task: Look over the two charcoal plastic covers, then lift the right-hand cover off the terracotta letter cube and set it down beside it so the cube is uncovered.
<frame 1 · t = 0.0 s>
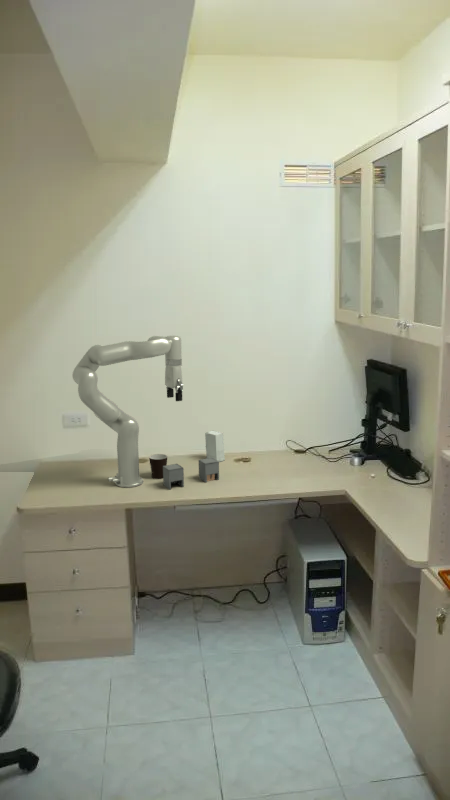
hand: (174, 399, 271), 37 cm above the table, tool pointing down, fingers open, 9 cm apart
cover right: (209, 479, 271), on the table
coffee mug: (159, 476, 276), on the table
skincare box: (215, 460, 299), on the table
cover left: (173, 485, 263), on the table
letter cube: (209, 475, 271), in the cover right
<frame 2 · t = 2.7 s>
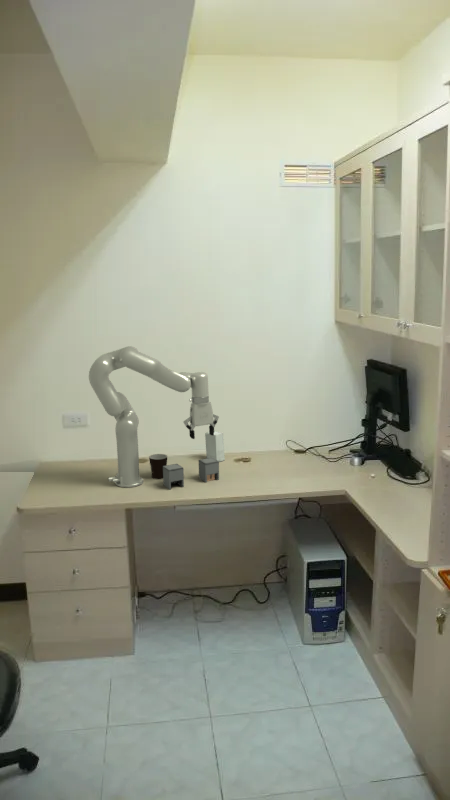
hand: (202, 436, 265), 21 cm above the table, tool pointing down, fingers open, 9 cm apart
nothing on the table moved.
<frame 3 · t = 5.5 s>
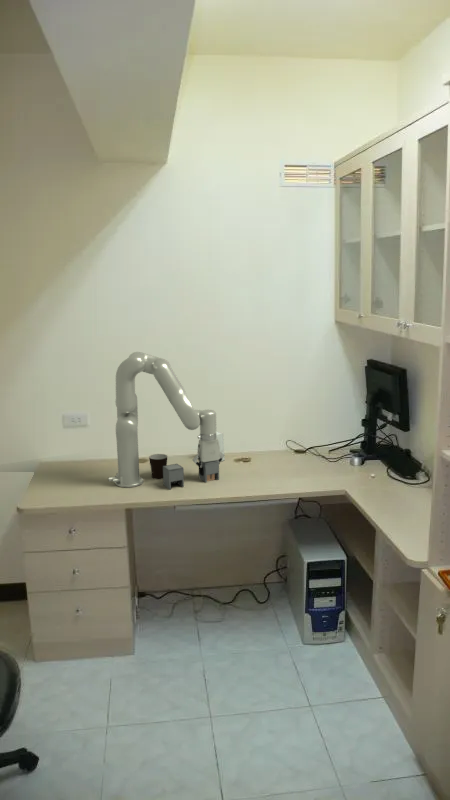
hand: (208, 473, 271), 3 cm above the table, tool pointing down, fingers closed on cover right, 7 cm apart
cover right: (209, 479, 271), on the table, touching gripper
everything else where it was.
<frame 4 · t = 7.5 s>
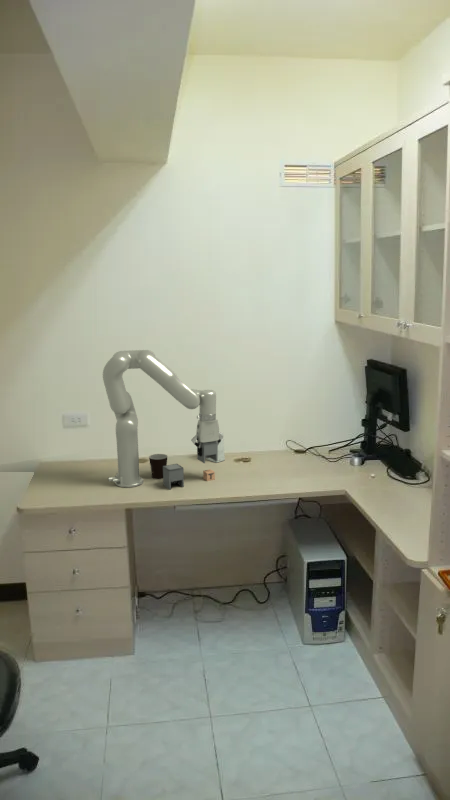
hand: (207, 454, 269), 12 cm above the table, tool pointing down, fingers closed on cover right, 7 cm apart
cover right: (207, 460, 269), point 9 cm above the table, touching gripper
everything else where it was.
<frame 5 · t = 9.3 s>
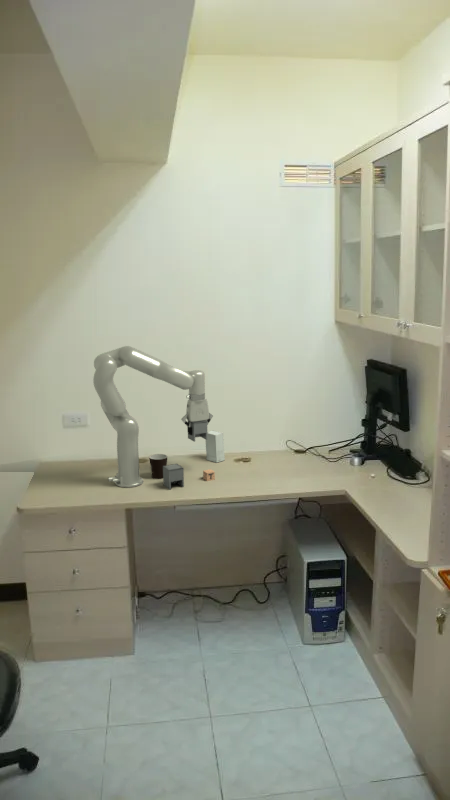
hand: (197, 433, 276), 20 cm above the table, tool pointing down, fingers closed on cover right, 7 cm apart
cover right: (197, 438, 277), point 17 cm above the table, touching gripper
everything else where it was.
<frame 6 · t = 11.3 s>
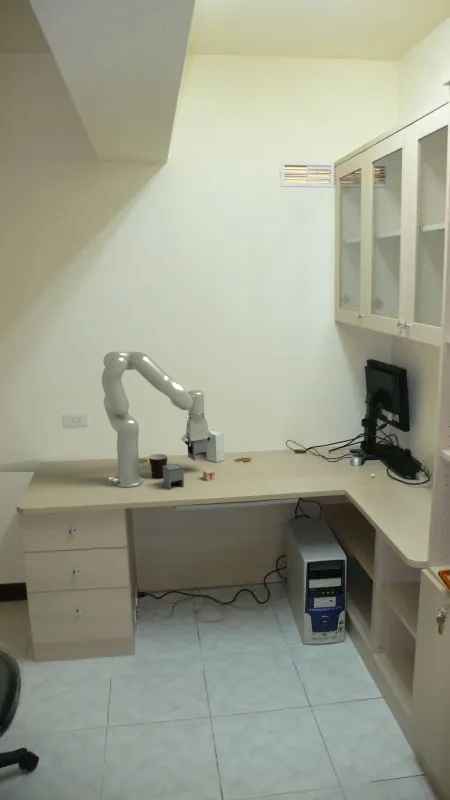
hand: (197, 452, 279), 10 cm above the table, tool pointing down, fingers closed on cover right, 7 cm apart
cover right: (197, 457, 280), point 7 cm above the table, touching gripper
everything else where it was.
when the fingers open (4 cm above the table, at t = 13.0 s): cover right drops 1 cm, on the table.
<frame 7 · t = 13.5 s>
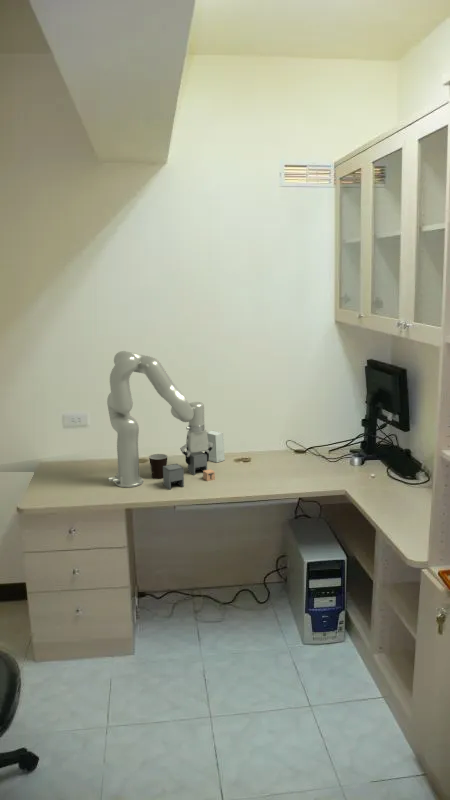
hand: (197, 462, 280), 5 cm above the table, tool pointing down, fingers open, 9 cm apart
cover right: (197, 471, 281), on the table
everything else where it was.
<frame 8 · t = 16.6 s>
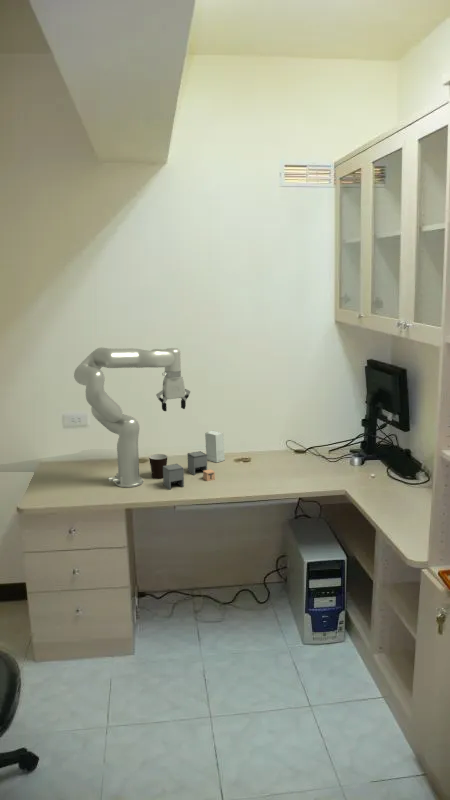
hand: (173, 409, 278), 30 cm above the table, tool pointing down, fingers open, 9 cm apart
nothing on the table moved.
at the end: cover right inside the target area (0.0 cm from its centre), on the table; letter cube moved 0.1 cm from its start; cover right tilted 0° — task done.
